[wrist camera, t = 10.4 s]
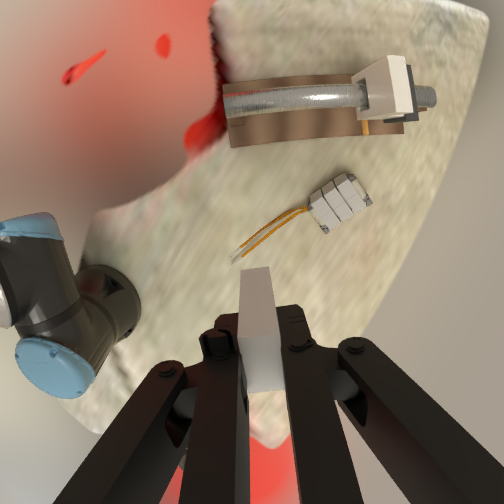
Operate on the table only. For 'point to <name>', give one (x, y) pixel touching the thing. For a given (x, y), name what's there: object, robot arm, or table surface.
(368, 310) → the table surface
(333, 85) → the steel pipe
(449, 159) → the table surface
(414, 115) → the dark gray nut plate
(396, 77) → the white u-shaped bracket
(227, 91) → the pipe stand
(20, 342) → the robot arm
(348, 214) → the electrical component
